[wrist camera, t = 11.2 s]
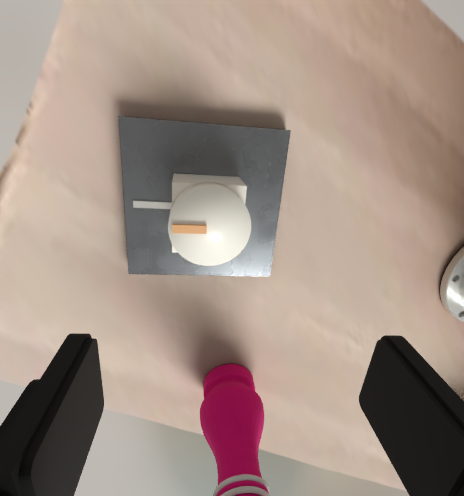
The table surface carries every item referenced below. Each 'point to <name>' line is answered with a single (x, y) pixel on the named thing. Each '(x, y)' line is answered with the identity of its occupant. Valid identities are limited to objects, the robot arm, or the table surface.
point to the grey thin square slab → (199, 163)
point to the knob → (208, 218)
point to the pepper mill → (234, 430)
